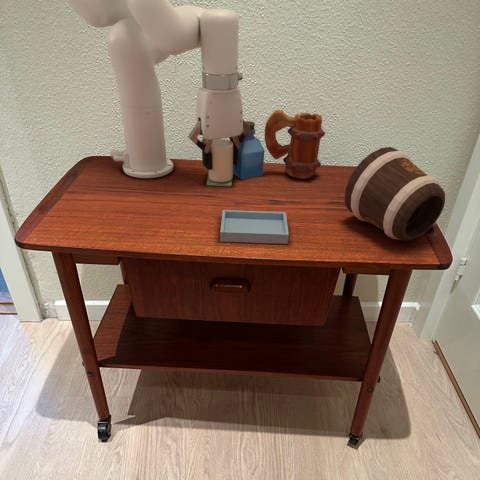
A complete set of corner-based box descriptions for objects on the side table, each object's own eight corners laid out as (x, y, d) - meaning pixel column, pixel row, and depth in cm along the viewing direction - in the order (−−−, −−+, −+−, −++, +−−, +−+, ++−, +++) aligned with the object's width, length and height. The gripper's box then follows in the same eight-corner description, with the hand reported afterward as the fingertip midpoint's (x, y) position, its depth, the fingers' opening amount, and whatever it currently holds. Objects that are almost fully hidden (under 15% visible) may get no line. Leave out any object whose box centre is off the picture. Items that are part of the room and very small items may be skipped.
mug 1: (318, 170, 111) (328, 108, 101) (319, 183, 105) (330, 118, 95) (262, 166, 112) (266, 104, 102) (260, 179, 106) (265, 114, 96)
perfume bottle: (241, 179, 105) (242, 128, 97) (230, 170, 109) (230, 121, 101) (262, 175, 107) (266, 125, 100) (251, 166, 112) (253, 118, 104)
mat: (206, 185, 102) (206, 183, 102) (208, 175, 106) (208, 173, 106) (231, 186, 102) (231, 184, 102) (232, 176, 106) (232, 174, 106)
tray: (220, 241, 83) (220, 231, 81) (222, 218, 90) (222, 209, 88) (287, 244, 83) (288, 234, 81) (284, 221, 90) (285, 212, 88)
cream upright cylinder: (207, 181, 101) (206, 147, 96) (209, 171, 106) (208, 138, 100) (232, 182, 101) (232, 148, 96) (233, 172, 106) (233, 139, 100)
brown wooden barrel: (328, 201, 86) (378, 242, 77) (376, 132, 80) (436, 167, 71) (377, 225, 100) (423, 261, 91) (420, 167, 93) (475, 200, 85)
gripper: (246, 74, 96) (244, 154, 107) (175, 81, 89) (181, 166, 101) (263, 81, 91) (259, 165, 102) (189, 89, 84) (194, 177, 96)
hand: (220, 164), depth 102 cm, fingers closed on cream upright cylinder, 6 cm apart
